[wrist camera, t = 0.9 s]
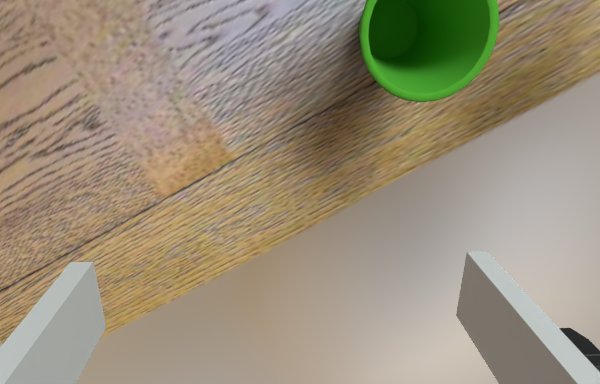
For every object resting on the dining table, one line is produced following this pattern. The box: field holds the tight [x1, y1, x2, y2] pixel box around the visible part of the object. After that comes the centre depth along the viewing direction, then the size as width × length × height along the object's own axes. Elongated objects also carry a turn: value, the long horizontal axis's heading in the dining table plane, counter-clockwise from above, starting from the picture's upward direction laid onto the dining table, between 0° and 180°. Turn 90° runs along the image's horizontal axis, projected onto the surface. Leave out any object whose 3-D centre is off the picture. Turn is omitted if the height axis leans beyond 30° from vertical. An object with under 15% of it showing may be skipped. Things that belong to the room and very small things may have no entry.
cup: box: [359, 0, 499, 102], centre depth 33 cm, size 9×9×11 cm
